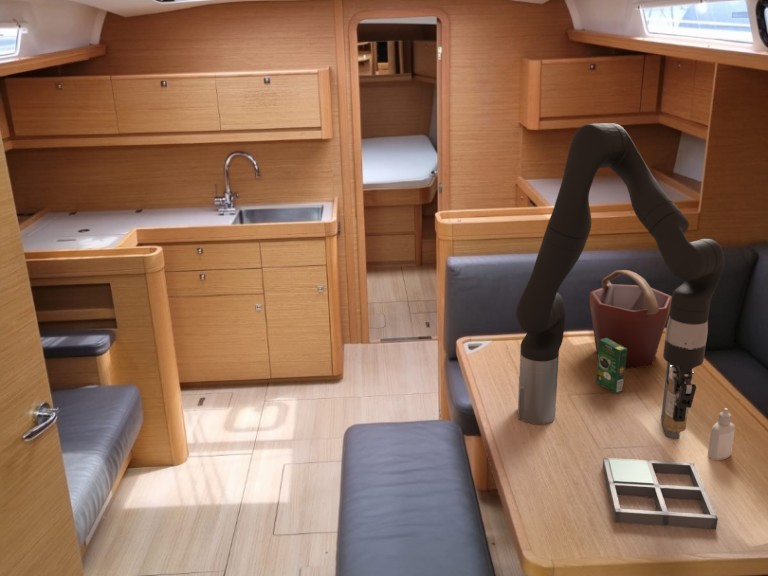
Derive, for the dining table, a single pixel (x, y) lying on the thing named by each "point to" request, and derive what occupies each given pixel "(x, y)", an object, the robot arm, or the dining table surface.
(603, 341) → the coffee box
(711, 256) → the robot arm
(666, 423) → the sprinkles bottle
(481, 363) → the dining table surface
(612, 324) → the bucket
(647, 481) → the organizer
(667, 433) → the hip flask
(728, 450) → the eye dropper bottle
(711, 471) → the dining table surface
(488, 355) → the dining table surface
